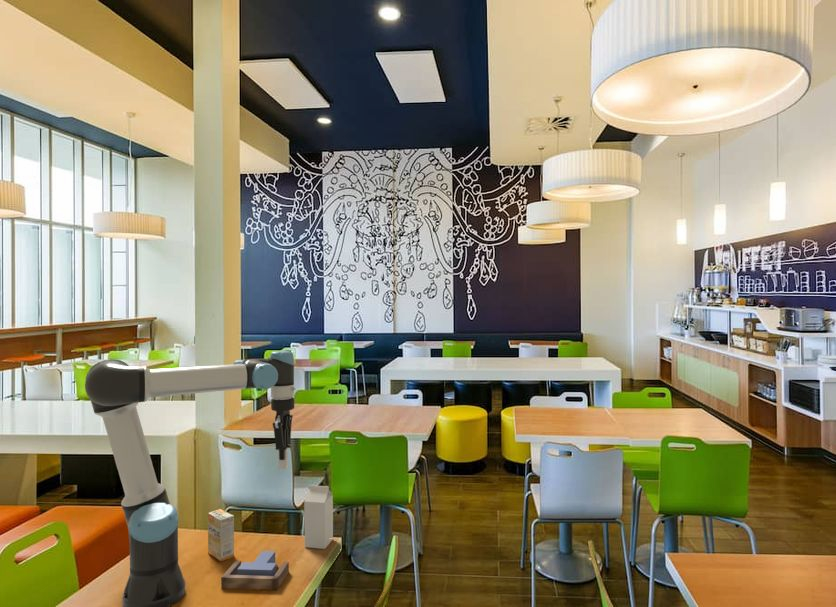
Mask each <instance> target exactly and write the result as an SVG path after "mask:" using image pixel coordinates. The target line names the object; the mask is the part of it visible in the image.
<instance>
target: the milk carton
mask: <svg viewBox="0 0 836 607" xmlns="http://www.w3.org/2000/svg"><path fill="white" fill-rule="evenodd" d="M307 486H308V489H307V492H306V495H305V498H304V500H303V501H304V502H303V503H304V505H303V506H304V512H303V513H304V548H311V549H319V550H321V549H322V550H326V549H327V547H329V545H330V543H331V542H332V541H333V540H334V509H333V508H334V500H333V498H334V496H333V493H332V491H330V487H329V486H328V485H312V484H309V485H307ZM329 538H333V539H329Z"/></svg>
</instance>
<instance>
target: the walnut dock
mask: <svg viewBox="0 0 836 607" xmlns="http://www.w3.org/2000/svg"><path fill="white" fill-rule="evenodd" d="M241 564H242V560H235V561H234V562H233V563H232V564H231V566H230V567H229V568H228V569H227V570H226V571H225V572H224V573H223V575H222V576H221V577H220V580H221V582H220V584H221V586H220V587H221V589H235V590H237V589H239V590H261V589H267V590H269V591H278V589H279V588H280V587H281V585H282V584H283V582H284V581H285V579H286V578H287V575H288V574H289V566H290V564H289V561H283V562H282V563H281V565H280V567H279V568H277V572H276V574H275V575H274V576H254V575H237V569H238V568H239V567H240V565H241ZM267 590H266V591H267Z"/></svg>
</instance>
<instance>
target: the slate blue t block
mask: <svg viewBox="0 0 836 607" xmlns="http://www.w3.org/2000/svg"><path fill="white" fill-rule="evenodd" d="M277 565H278V563H277V562H276V551H275V550H262V551H261V552H260V554H259V555H258V556H257V557H256V558H255V560H254V561H253V562H250V561H243V562H241V565H240V567H239V568H238V569H237V575H254V576H274V575H275V574H276V572H277V571H278V568H277V567H278V566H277Z"/></svg>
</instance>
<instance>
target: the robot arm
mask: <svg viewBox="0 0 836 607" xmlns="http://www.w3.org/2000/svg"><path fill="white" fill-rule="evenodd" d="M294 356H295V355H294V353H293V352H292V351H289V350H277V351H275V350H274V351H271V353H270V356H269V357H266V358H252V359H250V358H249V359H247V358H246V359H245V358H243V359H237V360H234V361H233V363H231V364H220V365H218V364H216V365H203V366H186V367H185V366H184V367H172V368H171V367H169V368H168V367H167V368H153V369H152V368H151V369H150V368H149V367H147V366H146V365H140V366H134V365H132V366H131V365H129V364H128V363H127V362H125V361H123V360H120V359H114V358H109V359H104V360H101V361H98V362H97V363H95V364H93V366H91V367H90V369H89V370H88V372H87V373H86V376H85V382H84V391H85V393H86V395H87V397H88V398H89V399H90V402H91V406H92V408H93V412H94V414H95V415H97V416H99V417H101V418H102V421H103V425H104V427H105V431H106V435H107V438H108V441H109V445H110V448H111V451H112V455H113V457H114V462H115V466H116V469H117V471H118V476H119V479H120V482H121V485H122V489H123V493H124V497H123V498H122V500H121V503H120V505H121V508H122V511H123V514H124V518H125V522H126V525H127V529H128V530H127V531H128V532H127V533H128V539H129V540H128V541H129V574H128V575H129V576H128V578H127V580H126V584H125V588H124V591H123V593H122V602H121V603H122V607H171V606H172V605H174V604H176V603H177V602H178V601H180V600H181V599H182V597H184V595H185V593H186V580H185V578H184V576H183V573H182V569H181V567H180V565H179V522H180V521H179V514H178V510H177V508H176V507H175V506H174V505H173V504H171V502H170V500H169V497H168V492H167V490H166V487H165V485H164V484H162V483H159V482H158V479H157V476H156V472H155V469H154V466H153V461H152V458H151V455H150V451H149V447H148V444H147V441H146V437H145V433H144V430H143V427H142V422H141V419H140V416H139V413H138V409H137V406H138V404H139V403H146V402H147V401H148V400H149V399H150V398H159V397H167V396H168V397H170V396H181V395H182V396H183V395H192V394H193V395H194V394H201V393H202V394H204V393H213V392H224V391H226V392H227V391H236V390H250V389H258V390H259V389H260V390H268V389H270V397H271V399H270V400H271V401H270V409H271V410H272V411H273V412H276V413H275V418H274V420H275V422H272V427H273V434H274V442H275V450H276V451H278V470H288V468H289V449H290V448H291V447H292V446H291V445H290V444H291V438H292V437H291V436H292V423H293V414H291V411H292V410H294V409H295V398H294V396H295V391H296V387H295V359H294V358H295V357H294Z"/></svg>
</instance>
